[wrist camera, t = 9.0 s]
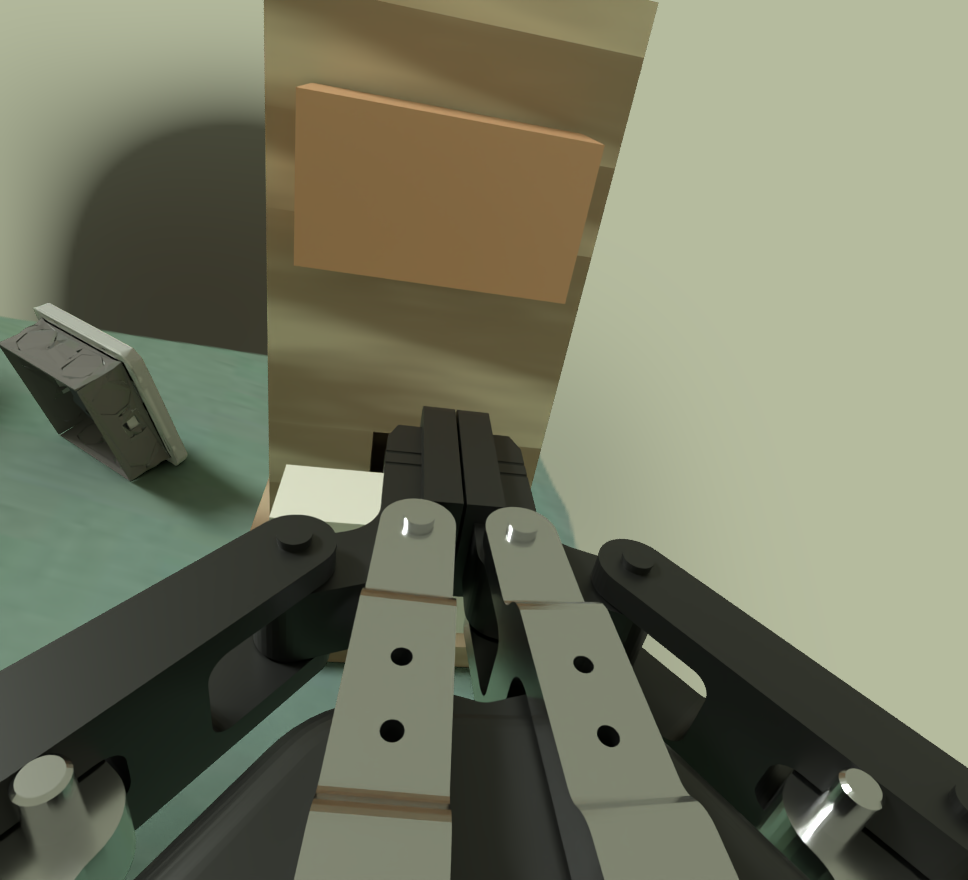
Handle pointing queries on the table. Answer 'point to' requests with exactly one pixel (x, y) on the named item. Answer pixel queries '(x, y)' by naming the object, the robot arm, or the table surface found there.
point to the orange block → (438, 194)
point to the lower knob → (336, 501)
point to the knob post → (413, 306)
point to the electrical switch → (95, 392)
